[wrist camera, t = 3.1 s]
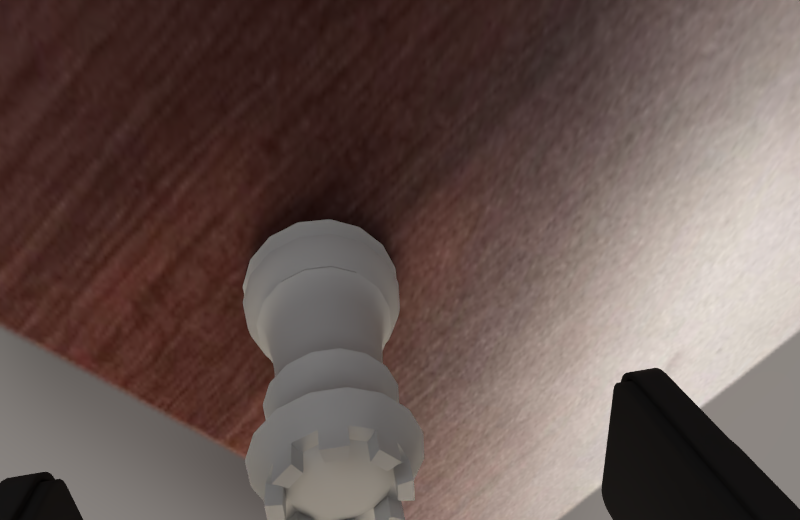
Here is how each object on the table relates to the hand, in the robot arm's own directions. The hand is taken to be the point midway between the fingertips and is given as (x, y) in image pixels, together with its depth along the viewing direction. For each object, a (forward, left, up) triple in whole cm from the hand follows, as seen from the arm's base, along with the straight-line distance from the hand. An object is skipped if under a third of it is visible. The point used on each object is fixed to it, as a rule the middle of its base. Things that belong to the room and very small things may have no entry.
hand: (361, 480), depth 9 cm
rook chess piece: (0, 0, -8) cm, 8 cm away
